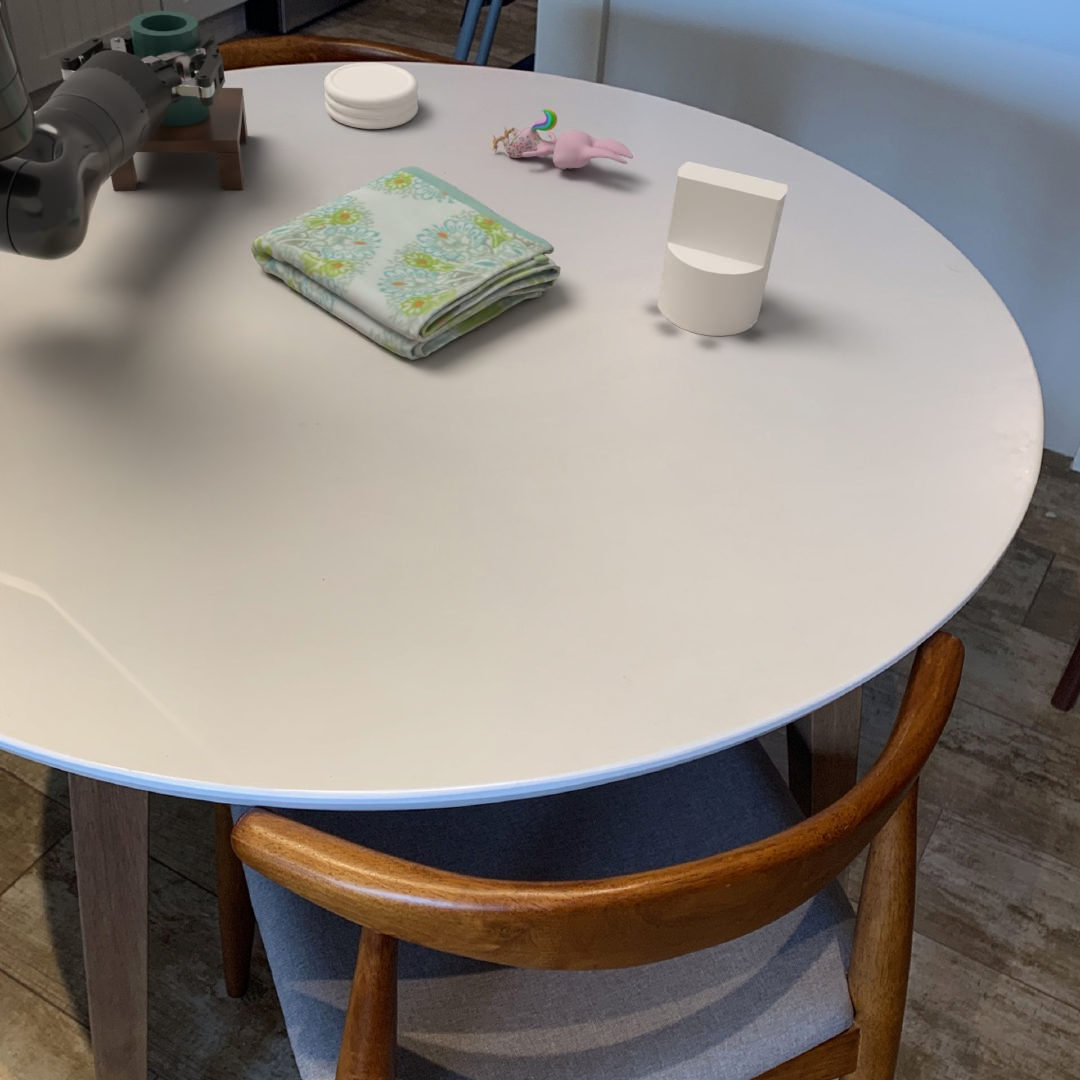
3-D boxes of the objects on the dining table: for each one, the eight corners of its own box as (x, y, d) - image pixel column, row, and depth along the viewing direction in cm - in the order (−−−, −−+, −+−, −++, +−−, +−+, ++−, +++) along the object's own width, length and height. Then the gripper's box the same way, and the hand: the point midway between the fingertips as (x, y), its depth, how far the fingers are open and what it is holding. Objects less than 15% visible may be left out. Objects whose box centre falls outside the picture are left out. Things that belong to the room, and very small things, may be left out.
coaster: (379, 139, 124) (378, 107, 121) (306, 112, 127) (304, 80, 125) (436, 109, 130) (436, 77, 127) (365, 84, 133) (364, 53, 131)
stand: (113, 190, 112) (103, 140, 109) (127, 134, 121) (118, 86, 117) (242, 190, 114) (237, 140, 110) (247, 135, 122) (242, 87, 119)
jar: (141, 126, 111) (126, 34, 105) (148, 99, 115) (133, 10, 110) (207, 126, 112) (195, 35, 106) (211, 100, 116) (200, 11, 110)
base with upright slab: (644, 319, 102) (663, 190, 94) (674, 271, 108) (694, 146, 100) (744, 346, 100) (773, 217, 92) (769, 295, 106) (798, 170, 98)
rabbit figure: (486, 171, 123) (617, 188, 117) (480, 114, 119) (615, 128, 113) (515, 149, 127) (643, 164, 121) (509, 93, 123) (641, 106, 117)
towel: (416, 374, 94) (415, 319, 90) (250, 269, 104) (243, 216, 100) (567, 293, 104) (572, 241, 101) (403, 204, 114) (402, 154, 110)
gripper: (181, 80, 96) (247, 8, 108) (11, 58, 97) (96, -10, 109) (193, 166, 101) (255, 89, 114) (32, 145, 102) (111, 71, 114)
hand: (177, 40), depth 111 cm, fingers closed on jar, 6 cm apart
